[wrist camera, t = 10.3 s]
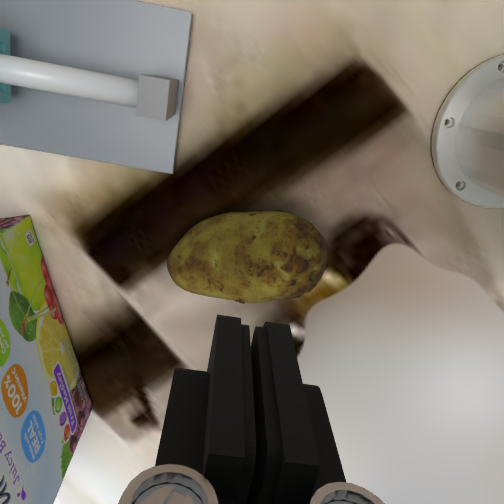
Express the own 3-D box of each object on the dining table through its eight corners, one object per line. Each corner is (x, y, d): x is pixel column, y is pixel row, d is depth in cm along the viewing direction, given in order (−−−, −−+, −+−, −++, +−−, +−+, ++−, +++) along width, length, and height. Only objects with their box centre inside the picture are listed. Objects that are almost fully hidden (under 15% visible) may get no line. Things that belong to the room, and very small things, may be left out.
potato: (175, 186, 38) (161, 212, 31) (321, 204, 39) (341, 234, 32) (169, 273, 41) (155, 316, 34) (304, 287, 42) (319, 332, 35)
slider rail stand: (192, 14, 33) (182, -2, 26) (174, 171, 37) (160, 191, 31) (-120, -51, 31) (-219, -87, 24) (-101, 123, 35) (-181, 134, 28)
